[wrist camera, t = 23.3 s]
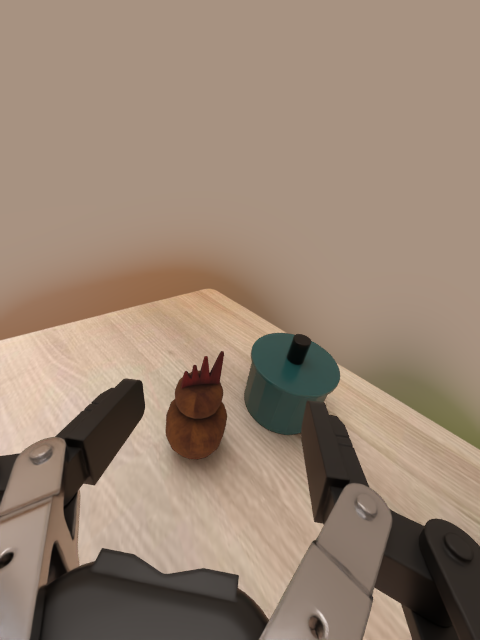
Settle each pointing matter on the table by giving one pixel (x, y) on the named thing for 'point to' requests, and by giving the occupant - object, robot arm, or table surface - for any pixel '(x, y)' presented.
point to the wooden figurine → (197, 412)
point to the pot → (275, 405)
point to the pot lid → (295, 365)
